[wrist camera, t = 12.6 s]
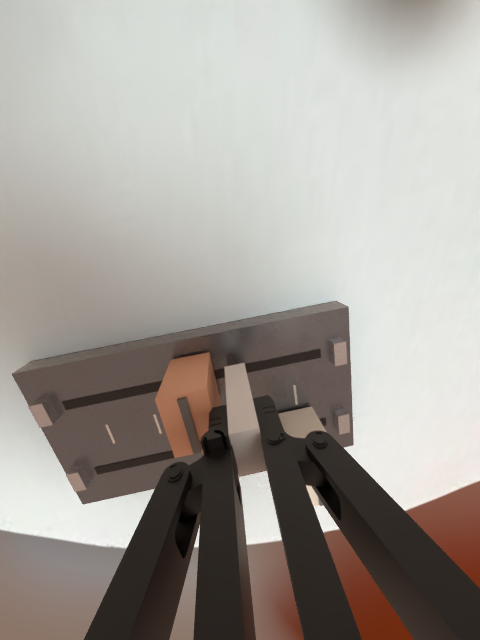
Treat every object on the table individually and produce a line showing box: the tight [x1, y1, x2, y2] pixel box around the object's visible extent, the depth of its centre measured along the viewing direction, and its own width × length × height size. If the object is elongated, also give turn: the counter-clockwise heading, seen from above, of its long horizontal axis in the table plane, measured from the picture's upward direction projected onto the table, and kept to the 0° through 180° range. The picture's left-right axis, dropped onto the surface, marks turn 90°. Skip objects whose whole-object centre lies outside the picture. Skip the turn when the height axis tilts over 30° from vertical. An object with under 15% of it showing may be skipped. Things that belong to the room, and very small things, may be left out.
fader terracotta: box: [155, 352, 221, 458], centre depth 17 cm, size 3×4×5 cm
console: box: [12, 301, 353, 504], centre depth 21 cm, size 26×14×3 cm, turn 100°
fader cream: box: [278, 407, 326, 506], centre depth 19 cm, size 3×4×5 cm
